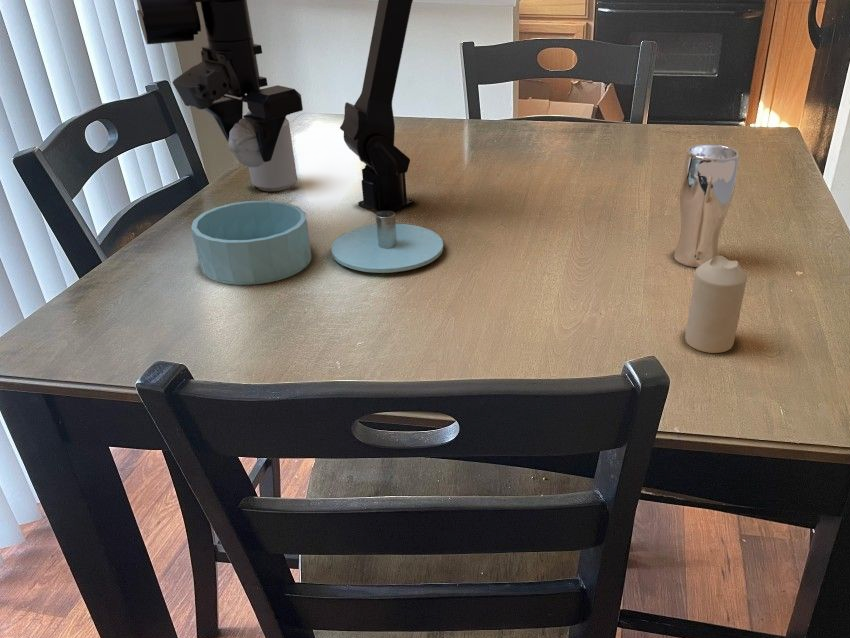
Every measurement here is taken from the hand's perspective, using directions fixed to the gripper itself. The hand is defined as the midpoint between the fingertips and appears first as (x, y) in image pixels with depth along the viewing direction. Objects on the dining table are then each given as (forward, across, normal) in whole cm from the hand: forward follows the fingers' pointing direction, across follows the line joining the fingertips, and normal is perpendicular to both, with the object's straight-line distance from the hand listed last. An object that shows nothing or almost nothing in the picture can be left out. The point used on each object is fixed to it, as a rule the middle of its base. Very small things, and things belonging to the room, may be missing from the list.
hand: (251, 156), depth 109 cm
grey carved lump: (+2, 0, 0) cm, 2 cm away
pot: (+10, +9, -9) cm, 16 cm away
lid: (+10, +21, +4) cm, 24 cm away
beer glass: (+11, +56, +29) cm, 64 cm away
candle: (+11, +67, +9) cm, 69 cm away
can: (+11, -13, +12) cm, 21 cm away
